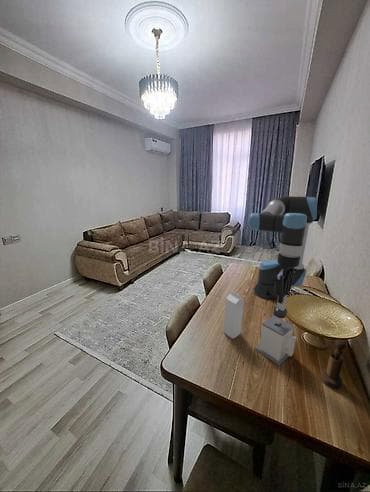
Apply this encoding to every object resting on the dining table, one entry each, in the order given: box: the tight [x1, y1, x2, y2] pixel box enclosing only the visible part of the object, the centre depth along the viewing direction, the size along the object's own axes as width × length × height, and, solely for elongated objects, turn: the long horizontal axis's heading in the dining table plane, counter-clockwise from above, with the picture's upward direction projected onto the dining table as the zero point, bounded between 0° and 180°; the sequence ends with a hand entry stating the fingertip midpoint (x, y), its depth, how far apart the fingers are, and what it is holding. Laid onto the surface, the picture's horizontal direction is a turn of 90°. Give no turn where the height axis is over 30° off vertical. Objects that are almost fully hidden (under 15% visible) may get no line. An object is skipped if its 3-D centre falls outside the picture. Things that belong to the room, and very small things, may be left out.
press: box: [255, 315, 297, 367], centre depth 89 cm, size 11×13×14 cm
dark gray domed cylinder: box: [272, 305, 288, 327], centre depth 88 cm, size 6×6×14 cm
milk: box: [222, 290, 245, 340], centre depth 100 cm, size 6×6×22 cm
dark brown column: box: [320, 338, 346, 390], centre depth 76 cm, size 7×6×18 cm
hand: (280, 308), depth 86 cm, fingers closed
